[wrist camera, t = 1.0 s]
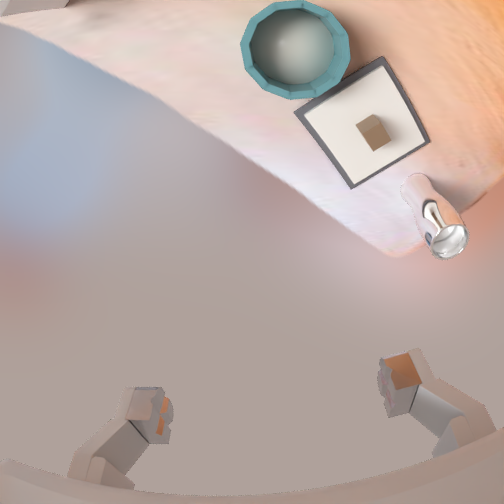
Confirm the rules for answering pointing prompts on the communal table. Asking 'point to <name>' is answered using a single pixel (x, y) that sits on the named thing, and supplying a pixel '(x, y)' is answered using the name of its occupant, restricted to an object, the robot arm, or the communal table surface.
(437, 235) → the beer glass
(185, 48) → the communal table surface
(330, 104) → the lid
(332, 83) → the bowl
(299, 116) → the mat
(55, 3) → the milk carton
